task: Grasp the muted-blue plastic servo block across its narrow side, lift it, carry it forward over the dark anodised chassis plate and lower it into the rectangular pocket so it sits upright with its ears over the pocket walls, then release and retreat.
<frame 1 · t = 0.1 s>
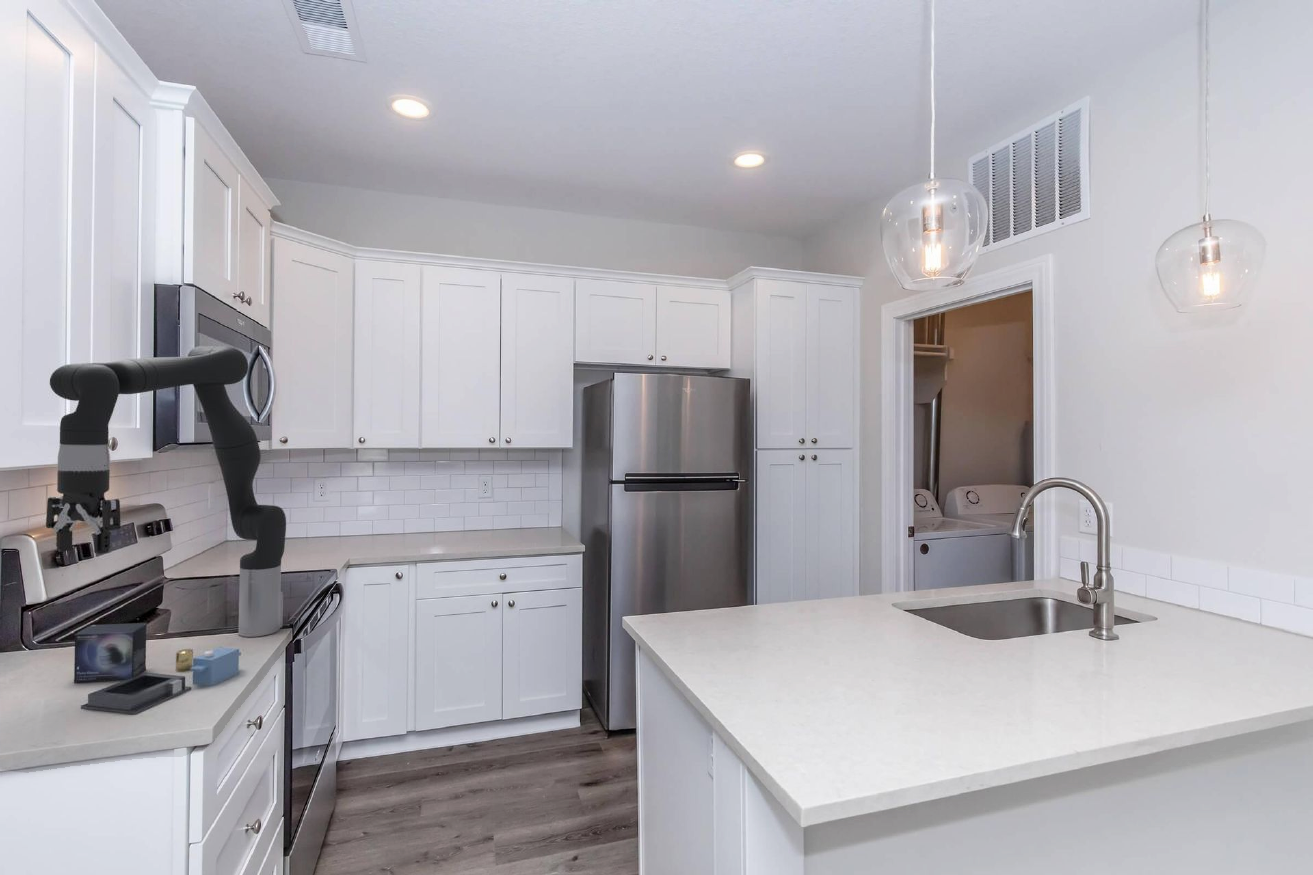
hand: (82, 551, 124), 29 cm above the countertop, fingers open, 8 cm apart
small box: (110, 677, 138), on the countertop
chassis: (138, 698, 127), on the countertop
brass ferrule: (184, 669, 143), on the countertop
servo: (216, 678, 138), on the countertop
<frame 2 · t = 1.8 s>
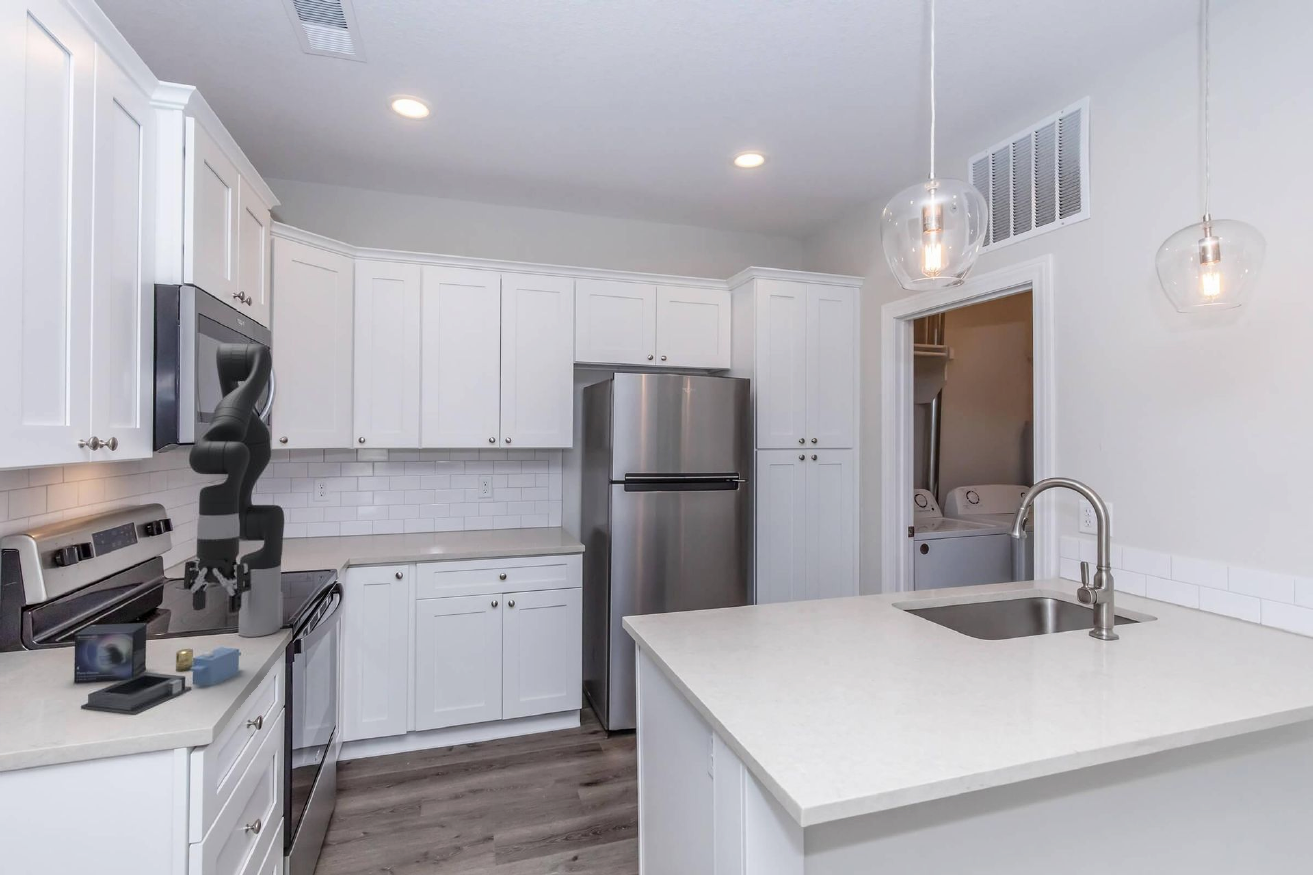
hand: (216, 610, 138), 15 cm above the countertop, fingers open, 8 cm apart
nothing on the countertop moved.
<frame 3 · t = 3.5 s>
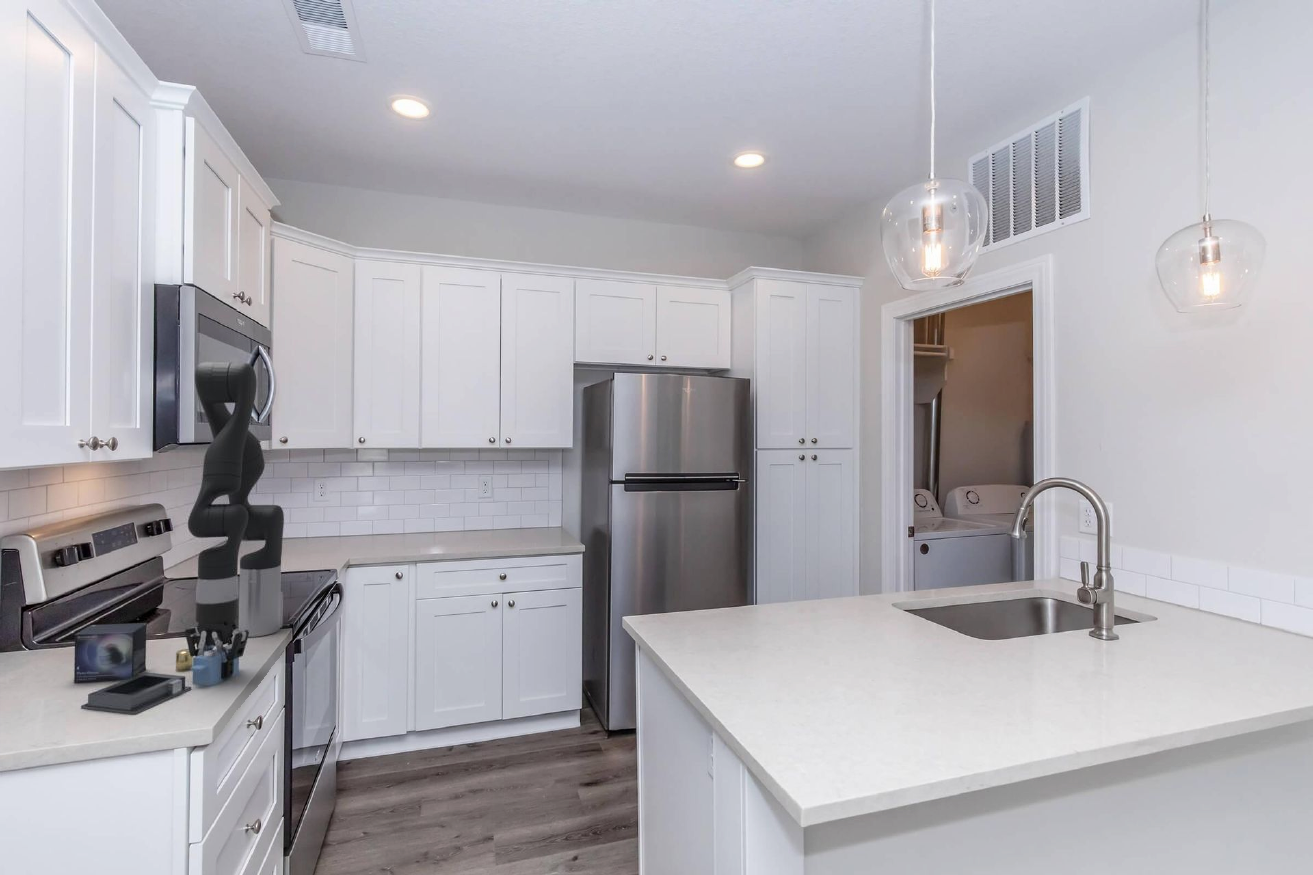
hand: (216, 676, 138), 0 cm above the countertop, fingers closed on servo, 4 cm apart
servo: (216, 678, 138), on the countertop, touching gripper
everything else where it was.
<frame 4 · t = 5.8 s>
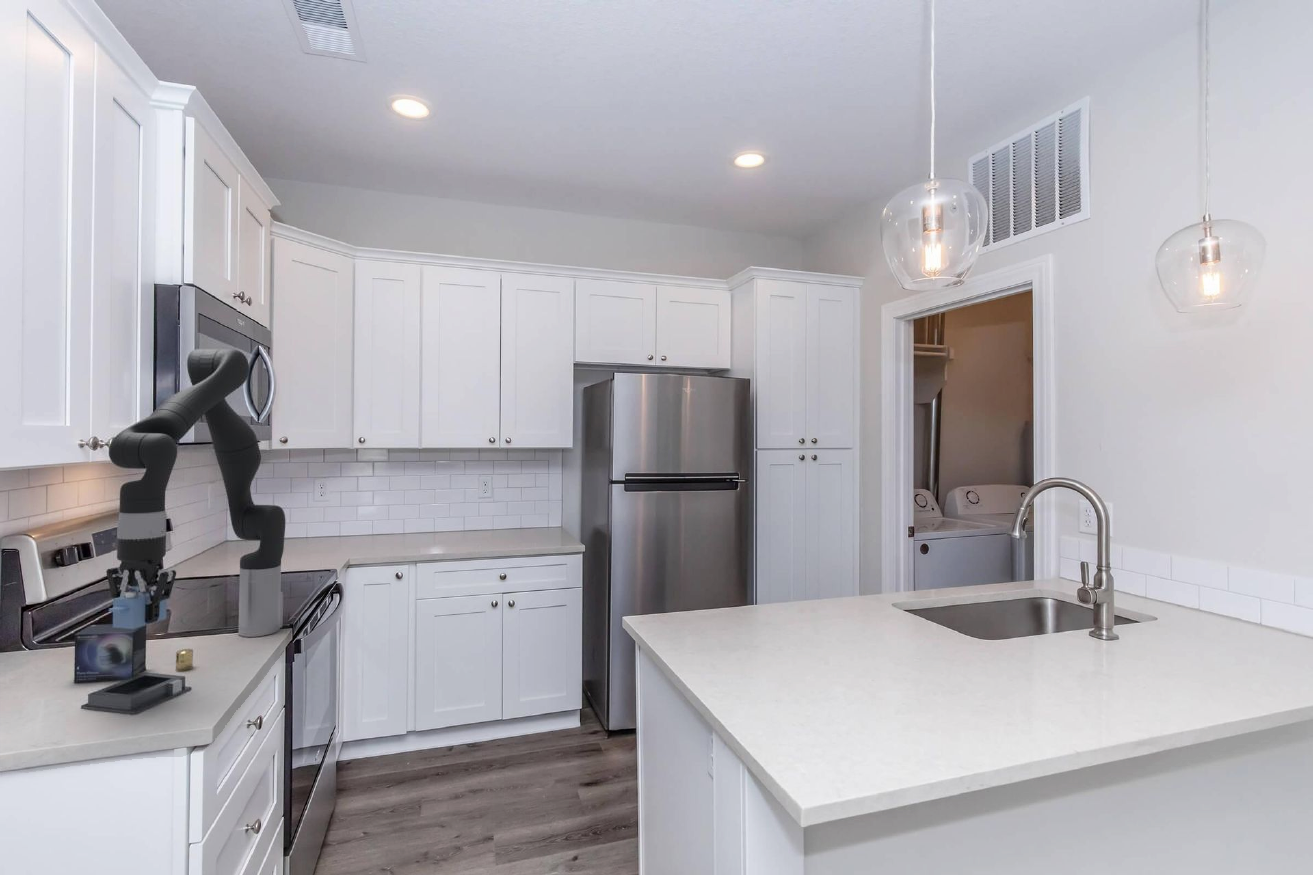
hand: (140, 620, 127), 15 cm above the countertop, fingers closed on servo, 4 cm apart
servo: (140, 622, 127), point 15 cm above the countertop, touching gripper
everything else where it was.
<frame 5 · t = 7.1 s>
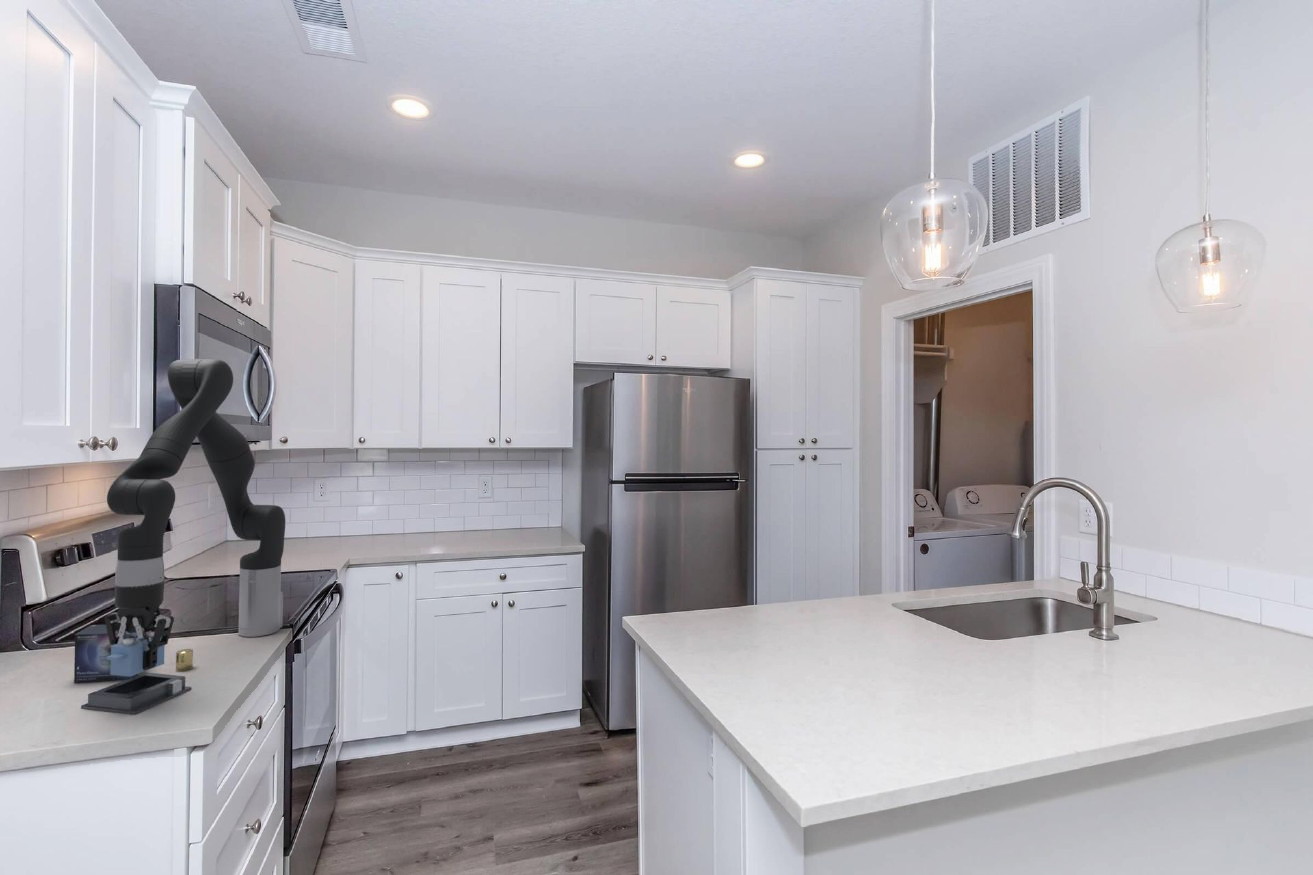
hand: (138, 666, 127), 6 cm above the countertop, fingers closed on servo, 4 cm apart
servo: (137, 668, 127), point 6 cm above the countertop, touching gripper
everything else where it was.
when the fingers open (3 cm above the countertop, at t = 8.0 s): servo drops 2 cm, resting on chassis.
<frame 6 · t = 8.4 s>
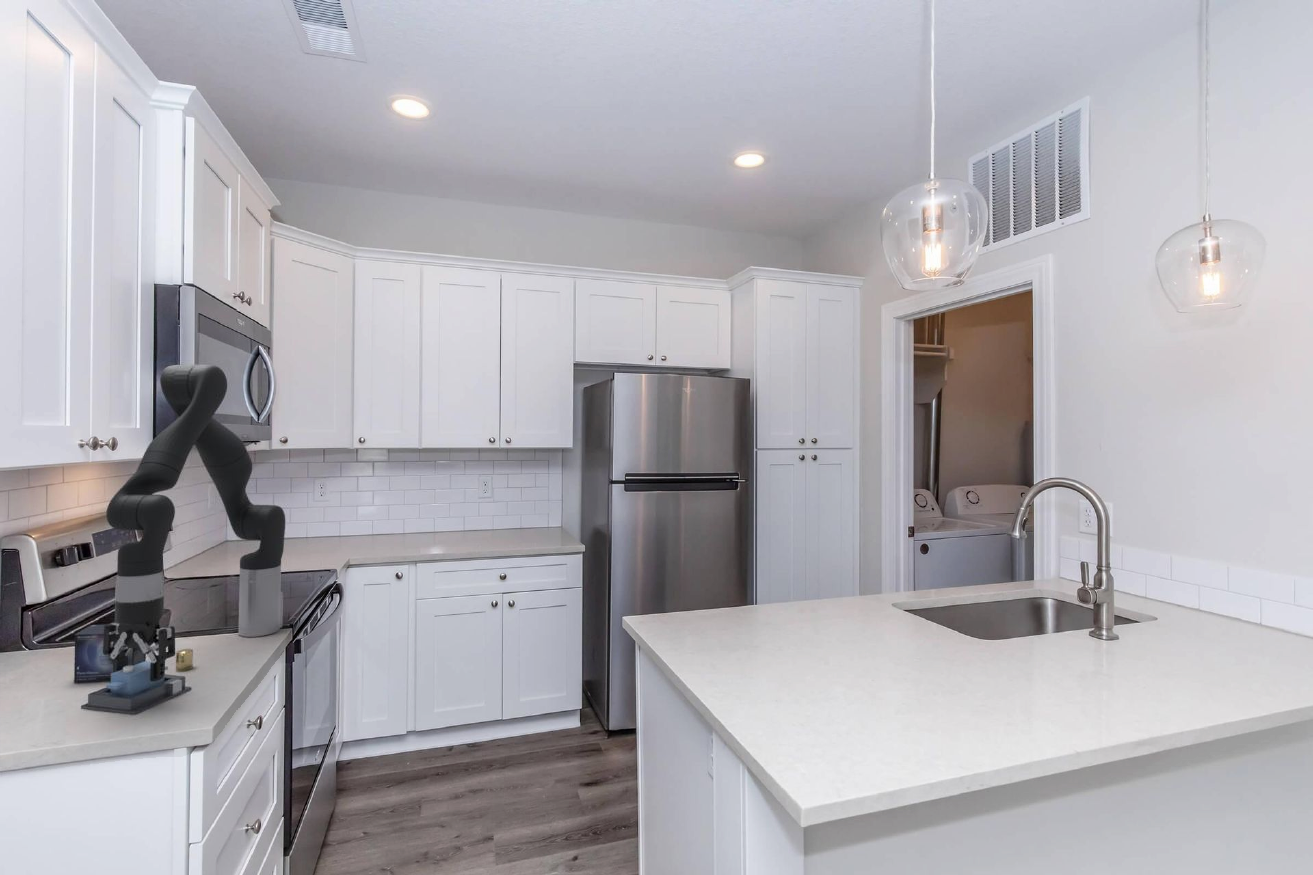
hand: (138, 678, 127), 4 cm above the countertop, fingers open, 8 cm apart
servo: (137, 695, 127), resting on chassis
everything else where it was.
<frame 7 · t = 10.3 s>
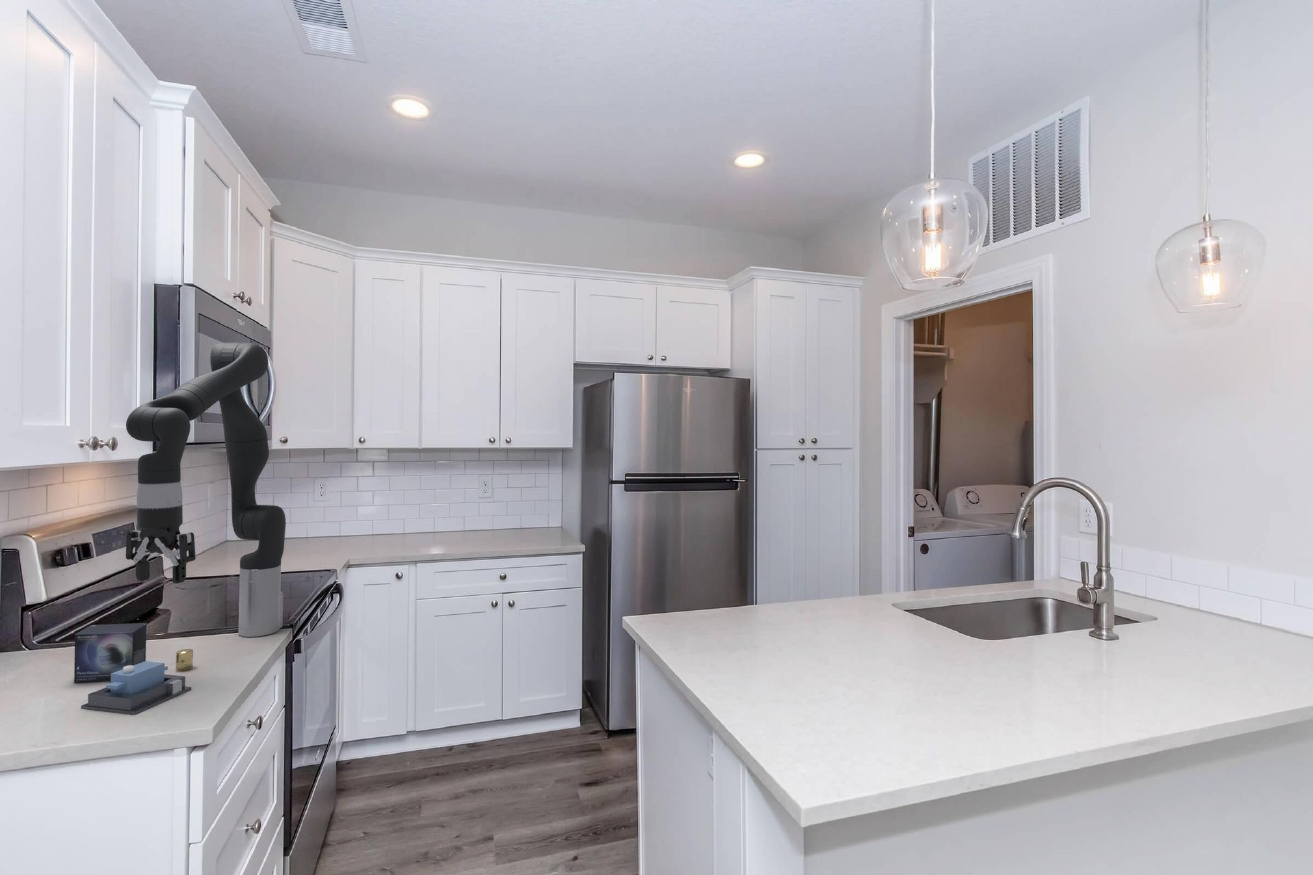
hand: (160, 581, 134), 21 cm above the countertop, fingers open, 8 cm apart
nothing on the countertop moved.
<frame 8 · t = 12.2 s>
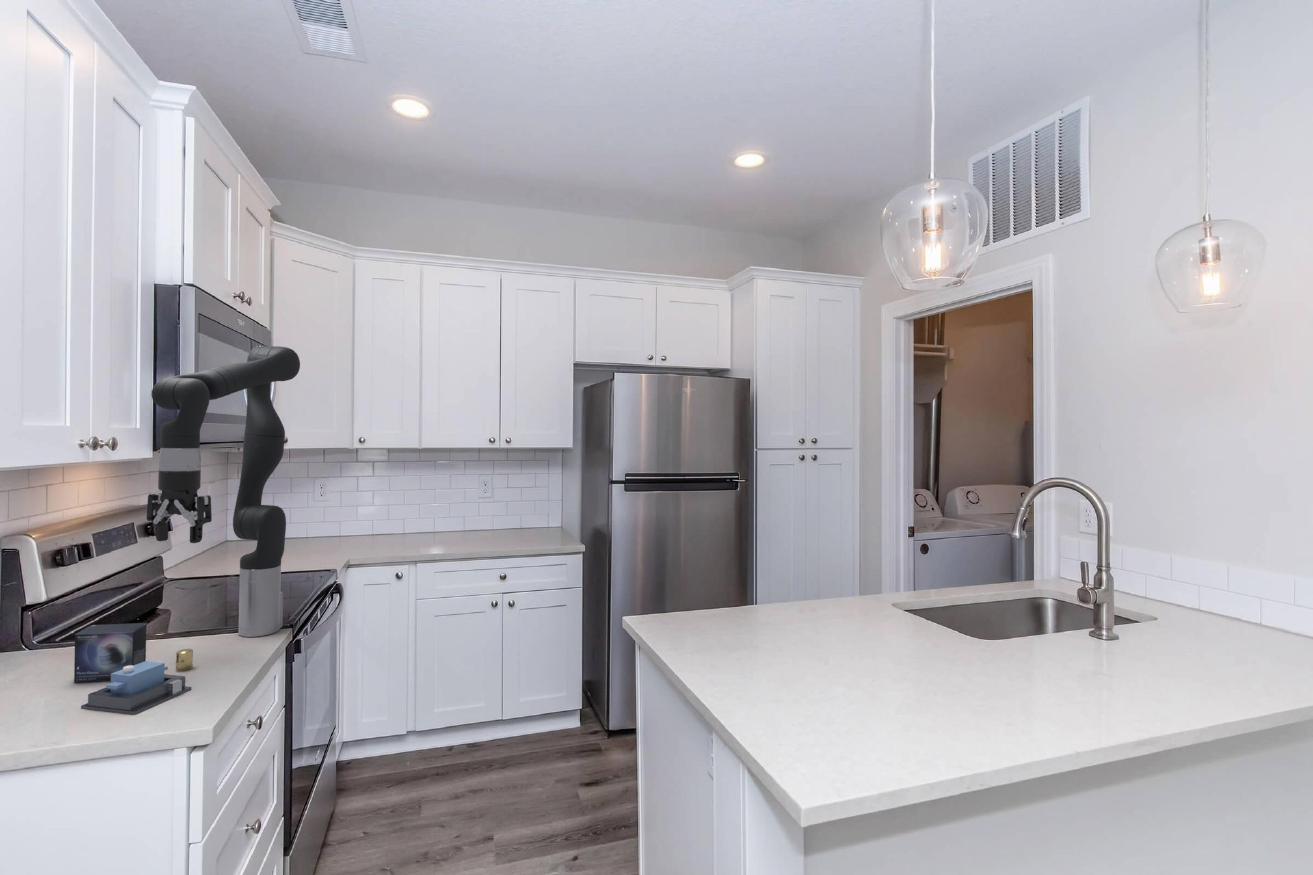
hand: (178, 541, 143), 28 cm above the countertop, fingers open, 8 cm apart
nothing on the countertop moved.
at the end: servo 0.1 cm off-centre on the chassis, point 0.5 cm above the chassis's base; servo tilted 0°; the gripper is holding nothing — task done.
